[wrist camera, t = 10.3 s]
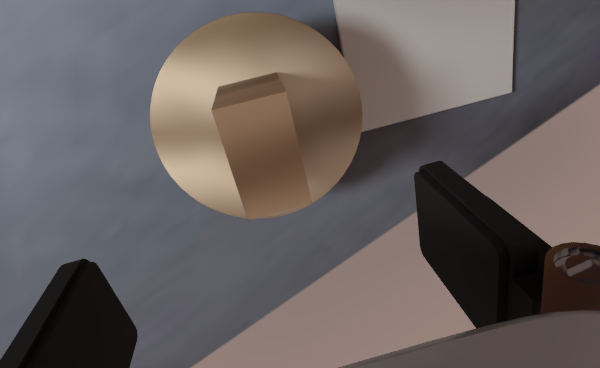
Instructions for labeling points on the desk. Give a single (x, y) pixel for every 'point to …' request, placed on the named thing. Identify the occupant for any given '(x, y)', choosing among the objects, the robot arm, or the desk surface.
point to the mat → (425, 54)
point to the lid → (256, 115)
